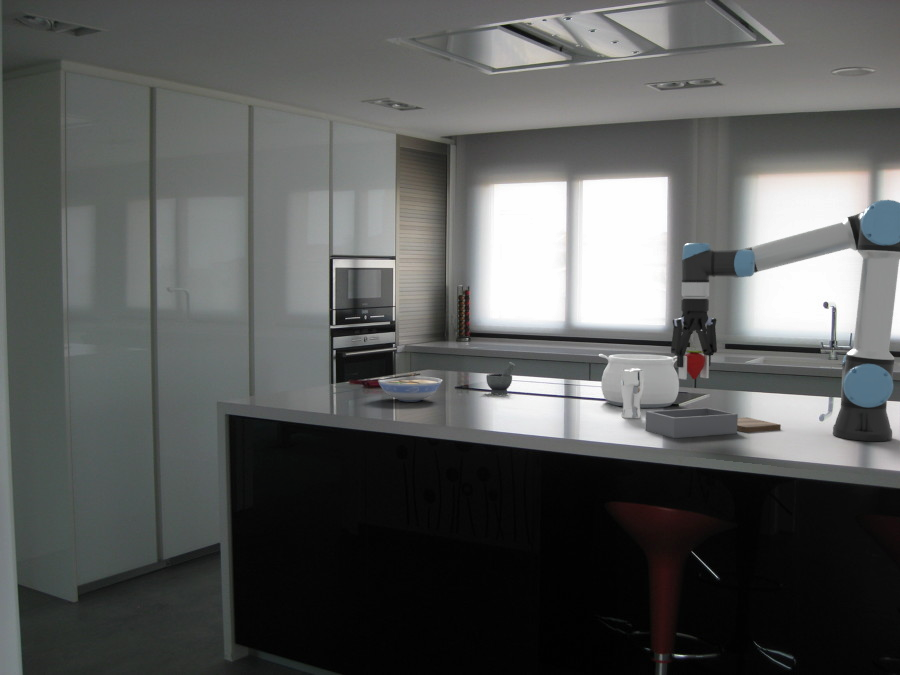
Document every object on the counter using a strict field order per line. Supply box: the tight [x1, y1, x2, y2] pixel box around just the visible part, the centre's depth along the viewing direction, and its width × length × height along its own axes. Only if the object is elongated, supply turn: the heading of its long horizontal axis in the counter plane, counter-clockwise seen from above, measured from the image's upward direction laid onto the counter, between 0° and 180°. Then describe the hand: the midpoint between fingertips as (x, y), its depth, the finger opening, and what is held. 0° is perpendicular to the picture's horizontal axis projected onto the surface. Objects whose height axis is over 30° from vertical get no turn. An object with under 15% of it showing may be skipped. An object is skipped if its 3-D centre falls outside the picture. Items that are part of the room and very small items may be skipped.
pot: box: [598, 353, 680, 409], centre depth 308 cm, size 29×26×17 cm
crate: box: [645, 407, 739, 439], centre depth 254 cm, size 13×22×6 cm, turn 113°
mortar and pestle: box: [485, 361, 516, 395], centre depth 332 cm, size 11×9×12 cm
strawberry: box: [684, 347, 705, 380], centre depth 252 cm, size 6×8×10 cm
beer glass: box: [621, 369, 644, 420], centre depth 279 cm, size 7×7×15 cm
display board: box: [737, 417, 782, 433], centre depth 263 cm, size 14×13×2 cm
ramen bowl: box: [371, 372, 443, 403], centre depth 310 cm, size 25×23×8 cm
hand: (693, 378), depth 253 cm, fingers closed on strawberry, 7 cm apart
